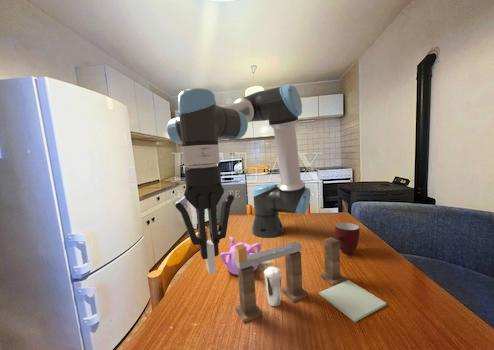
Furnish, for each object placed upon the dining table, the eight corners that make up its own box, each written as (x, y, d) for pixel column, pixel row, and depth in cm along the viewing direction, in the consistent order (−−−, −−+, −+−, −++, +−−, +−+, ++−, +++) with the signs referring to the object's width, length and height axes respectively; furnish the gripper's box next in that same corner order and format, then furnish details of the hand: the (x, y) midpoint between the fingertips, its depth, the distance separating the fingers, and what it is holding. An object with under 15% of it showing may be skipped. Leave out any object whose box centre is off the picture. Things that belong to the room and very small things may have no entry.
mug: (349, 262, 73) (349, 234, 72) (327, 254, 79) (327, 228, 78) (363, 251, 80) (363, 225, 79) (342, 245, 86) (341, 221, 85)
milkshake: (261, 297, 58) (259, 262, 57) (280, 295, 59) (279, 260, 58) (264, 309, 54) (261, 271, 53) (285, 307, 54) (283, 269, 53)
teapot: (254, 281, 66) (253, 253, 65) (215, 274, 71) (213, 248, 70) (266, 261, 77) (264, 238, 76) (231, 257, 82) (229, 234, 81)
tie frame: (235, 309, 54) (232, 264, 53) (332, 272, 68) (331, 235, 67) (243, 322, 50) (240, 274, 49) (345, 280, 64) (344, 241, 62)
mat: (319, 294, 58) (319, 292, 58) (348, 281, 63) (348, 279, 63) (354, 322, 48) (354, 319, 48) (386, 305, 53) (386, 302, 53)
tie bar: (235, 264, 52) (234, 246, 52) (296, 247, 60) (295, 230, 59) (239, 269, 50) (238, 249, 50) (301, 250, 57) (301, 233, 57)
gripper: (172, 169, 40) (184, 288, 42) (237, 164, 45) (244, 270, 48) (168, 168, 47) (179, 270, 49) (225, 163, 52) (232, 256, 55)
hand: (211, 270), depth 48 cm, fingers closed
